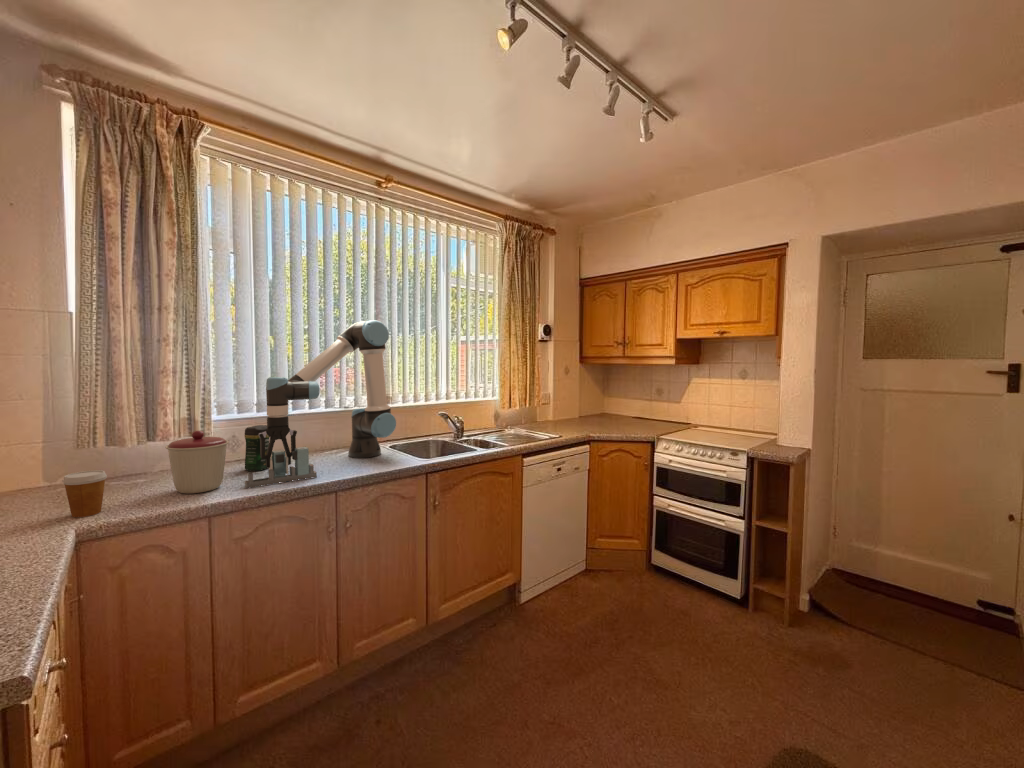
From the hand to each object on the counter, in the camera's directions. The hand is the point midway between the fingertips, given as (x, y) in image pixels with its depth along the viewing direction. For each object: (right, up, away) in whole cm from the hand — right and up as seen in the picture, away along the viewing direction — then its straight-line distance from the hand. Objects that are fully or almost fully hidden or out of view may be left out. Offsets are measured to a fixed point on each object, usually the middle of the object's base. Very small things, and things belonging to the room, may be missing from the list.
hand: (278, 474), depth 173 cm
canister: (-18, -2, -19) cm, 26 cm away
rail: (+6, -1, -8) cm, 10 cm away
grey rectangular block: (0, -1, 0) cm, 1 cm away
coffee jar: (-15, 0, +11) cm, 18 cm away
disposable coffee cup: (-33, -3, -44) cm, 55 cm away
